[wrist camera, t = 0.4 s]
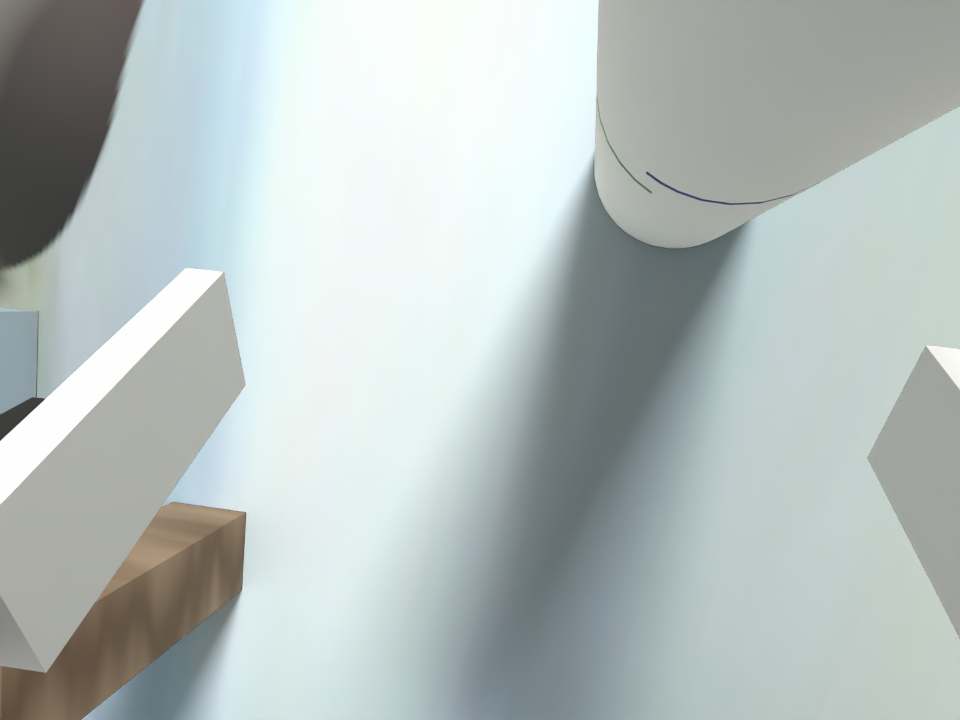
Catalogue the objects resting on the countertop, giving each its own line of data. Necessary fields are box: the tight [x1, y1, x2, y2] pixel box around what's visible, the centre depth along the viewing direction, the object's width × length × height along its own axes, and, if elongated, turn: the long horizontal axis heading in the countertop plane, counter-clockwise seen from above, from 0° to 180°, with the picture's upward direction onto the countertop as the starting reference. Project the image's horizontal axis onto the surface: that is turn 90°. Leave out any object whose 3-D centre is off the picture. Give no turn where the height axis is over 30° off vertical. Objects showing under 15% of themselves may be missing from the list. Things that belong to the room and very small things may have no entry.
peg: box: [0, 502, 246, 720], centre depth 27 cm, size 4×4×14 cm
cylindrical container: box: [594, 0, 960, 248], centre depth 16 cm, size 7×7×25 cm
